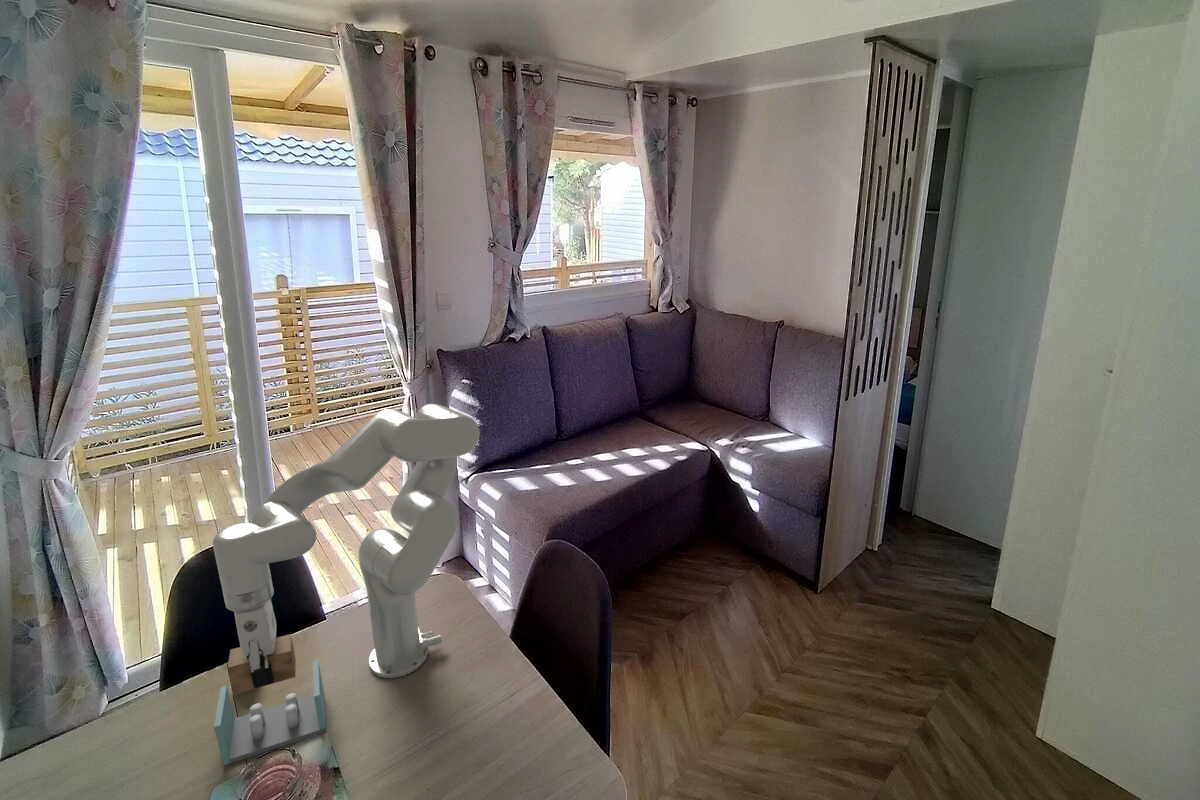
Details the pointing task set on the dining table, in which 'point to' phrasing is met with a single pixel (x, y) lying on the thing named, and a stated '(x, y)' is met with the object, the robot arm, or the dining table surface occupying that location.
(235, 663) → the brown wooden block
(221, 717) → the peg frame
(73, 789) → the dining table surface
